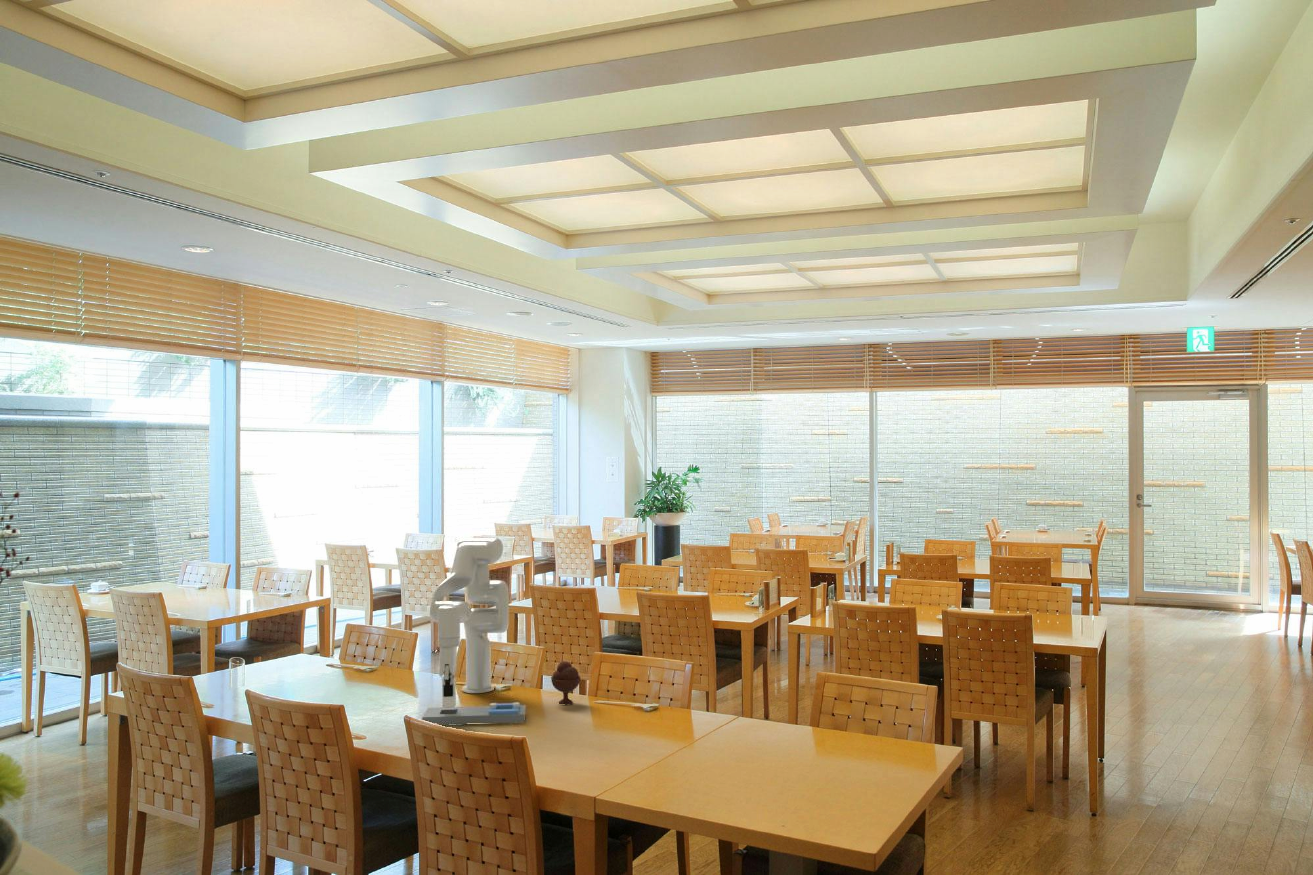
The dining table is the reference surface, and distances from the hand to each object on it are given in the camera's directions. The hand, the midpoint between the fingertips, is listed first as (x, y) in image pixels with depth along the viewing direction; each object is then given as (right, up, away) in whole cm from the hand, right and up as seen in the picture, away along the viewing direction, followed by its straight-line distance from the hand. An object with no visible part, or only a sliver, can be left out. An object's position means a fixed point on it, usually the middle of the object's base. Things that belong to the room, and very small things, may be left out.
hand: (449, 693), depth 319 cm
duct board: (+9, -9, 0) cm, 13 cm away
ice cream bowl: (+38, -9, +21) cm, 45 cm away
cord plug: (0, -4, 0) cm, 4 cm away
